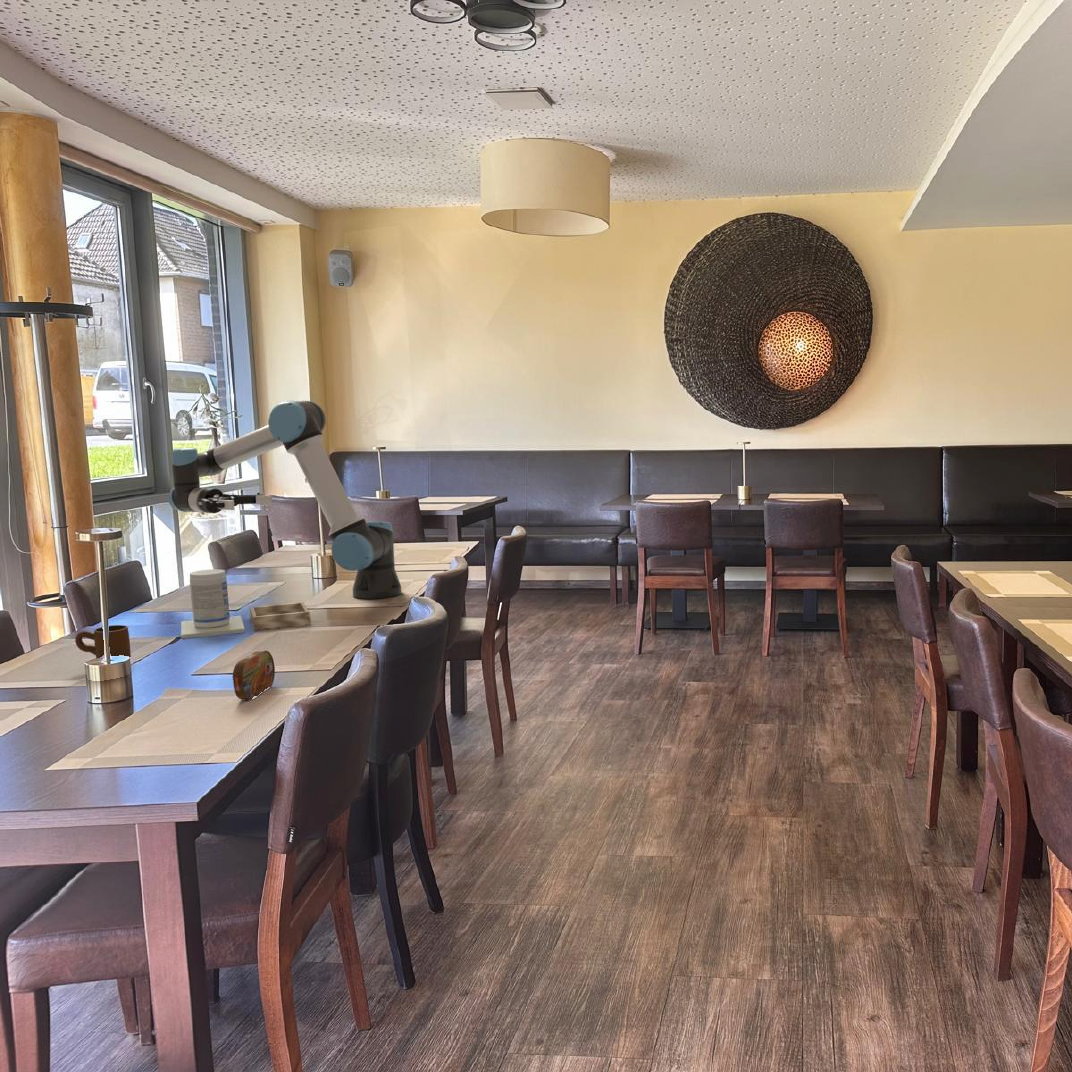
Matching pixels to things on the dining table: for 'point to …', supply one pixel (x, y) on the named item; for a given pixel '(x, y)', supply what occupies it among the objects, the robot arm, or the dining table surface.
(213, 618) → the supplement tub
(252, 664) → the tin
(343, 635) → the dining table surface
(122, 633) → the mug
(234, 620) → the board
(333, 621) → the dining table surface
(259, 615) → the holder frame
